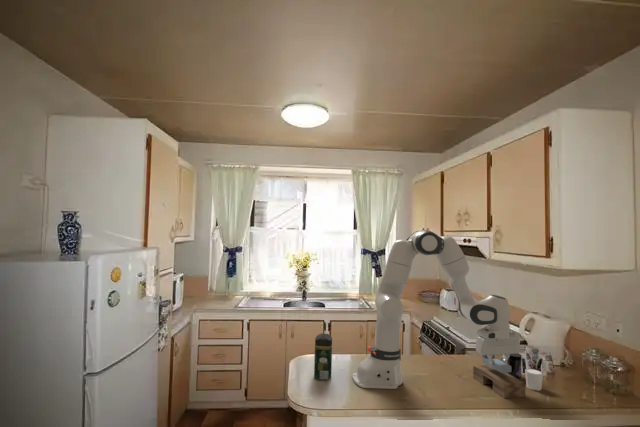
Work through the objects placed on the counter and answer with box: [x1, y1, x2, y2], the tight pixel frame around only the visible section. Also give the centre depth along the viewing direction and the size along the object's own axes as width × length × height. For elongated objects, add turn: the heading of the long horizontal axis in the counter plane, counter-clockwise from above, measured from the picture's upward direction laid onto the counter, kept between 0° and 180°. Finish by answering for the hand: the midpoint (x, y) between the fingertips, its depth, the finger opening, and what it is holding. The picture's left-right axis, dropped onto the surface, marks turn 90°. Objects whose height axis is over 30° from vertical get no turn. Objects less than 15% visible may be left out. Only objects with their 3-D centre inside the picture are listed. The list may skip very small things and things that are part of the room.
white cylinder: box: [524, 368, 544, 391], centre depth 155 cm, size 7×7×7 cm
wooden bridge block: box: [472, 364, 526, 399], centre depth 154 cm, size 10×20×6 cm, turn 12°
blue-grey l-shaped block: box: [482, 355, 511, 373], centre depth 156 cm, size 12×5×4 cm, turn 12°
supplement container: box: [507, 353, 523, 380], centre depth 167 cm, size 7×7×10 cm
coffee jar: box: [313, 333, 333, 381], centre depth 159 cm, size 10×8×19 cm
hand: (498, 363), depth 155 cm, fingers closed on blue-grey l-shaped block, 5 cm apart
